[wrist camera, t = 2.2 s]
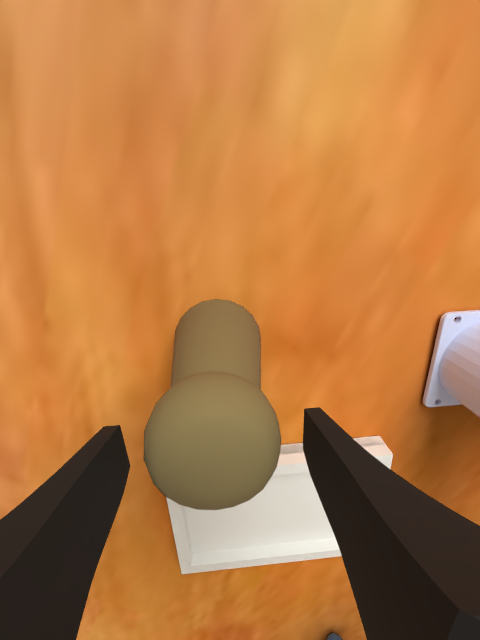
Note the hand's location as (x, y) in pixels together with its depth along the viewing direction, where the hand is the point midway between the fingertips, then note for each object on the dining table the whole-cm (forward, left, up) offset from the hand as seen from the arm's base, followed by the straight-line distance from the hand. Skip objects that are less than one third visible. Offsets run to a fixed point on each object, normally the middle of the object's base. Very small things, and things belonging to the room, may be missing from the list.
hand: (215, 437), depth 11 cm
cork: (0, 0, -9) cm, 9 cm away
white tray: (-4, +16, -9) cm, 19 cm away
